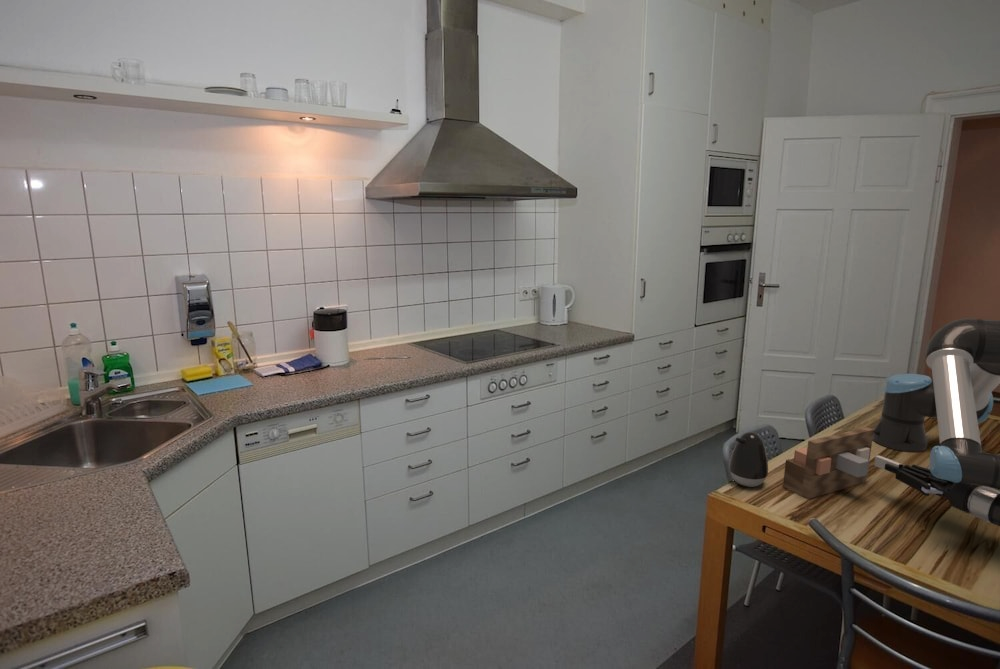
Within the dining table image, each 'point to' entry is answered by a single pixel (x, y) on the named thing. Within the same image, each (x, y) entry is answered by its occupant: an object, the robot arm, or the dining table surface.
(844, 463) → the key slate
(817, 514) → the dining table surface
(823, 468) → the key terracotta
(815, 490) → the key board
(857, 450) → the key ivory
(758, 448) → the black penguin figurine
